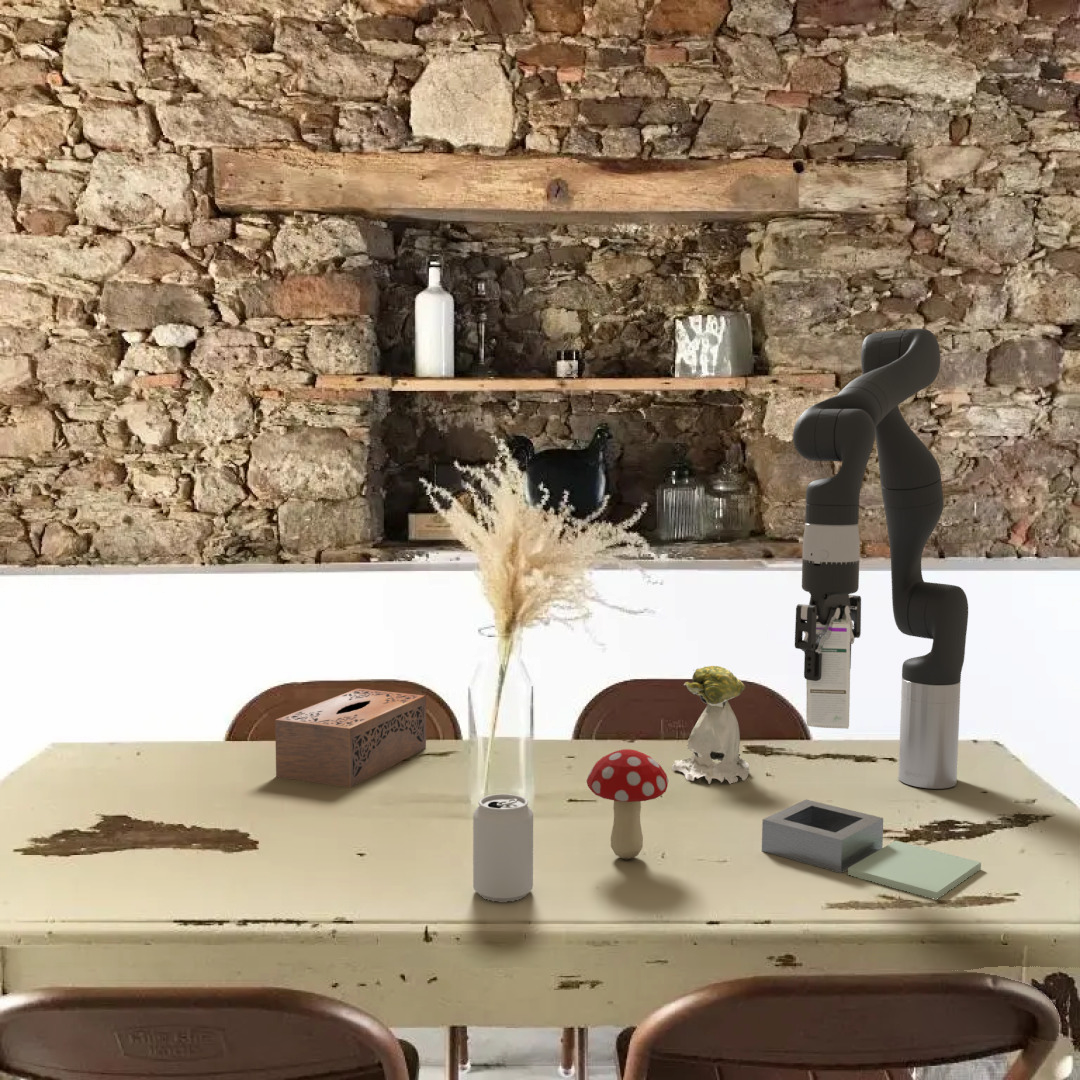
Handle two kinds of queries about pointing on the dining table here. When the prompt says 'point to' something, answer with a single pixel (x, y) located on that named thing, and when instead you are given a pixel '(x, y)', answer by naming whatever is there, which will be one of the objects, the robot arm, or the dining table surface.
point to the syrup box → (831, 681)
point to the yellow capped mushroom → (714, 729)
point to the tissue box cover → (350, 736)
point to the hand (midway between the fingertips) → (827, 675)
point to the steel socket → (822, 835)
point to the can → (503, 847)
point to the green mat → (915, 869)
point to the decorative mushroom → (627, 794)
